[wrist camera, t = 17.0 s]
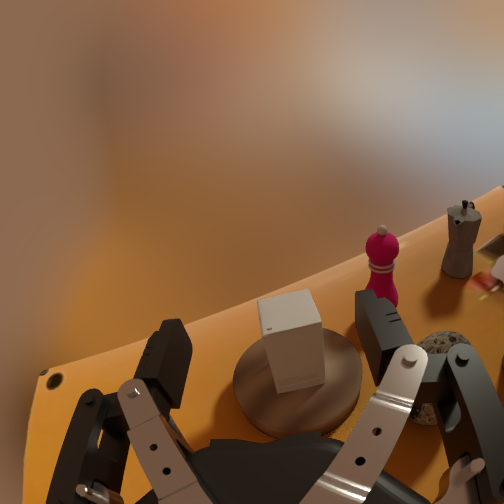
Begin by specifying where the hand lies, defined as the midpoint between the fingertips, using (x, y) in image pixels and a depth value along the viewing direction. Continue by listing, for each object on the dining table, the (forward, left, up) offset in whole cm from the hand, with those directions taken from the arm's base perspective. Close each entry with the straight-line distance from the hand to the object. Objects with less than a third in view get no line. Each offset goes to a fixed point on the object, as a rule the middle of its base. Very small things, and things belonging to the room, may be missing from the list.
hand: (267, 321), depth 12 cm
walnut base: (+13, -13, -32) cm, 37 cm away
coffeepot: (-2, -61, -32) cm, 69 cm away
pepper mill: (+10, -35, -32) cm, 48 cm away
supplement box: (+12, -13, -27) cm, 33 cm away
